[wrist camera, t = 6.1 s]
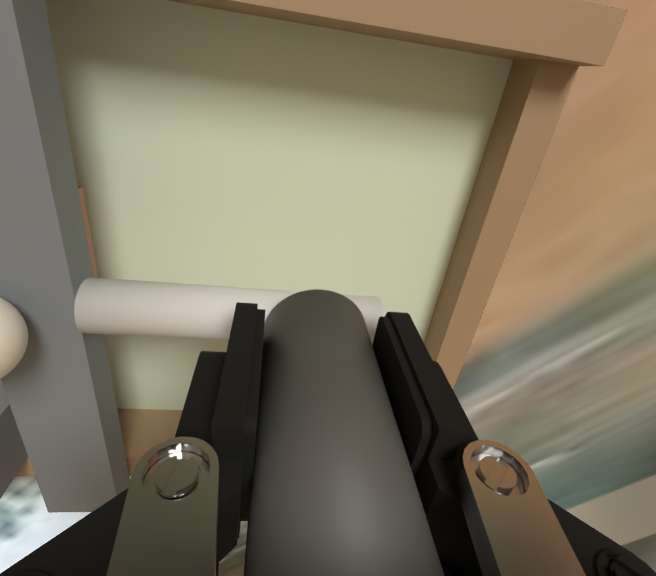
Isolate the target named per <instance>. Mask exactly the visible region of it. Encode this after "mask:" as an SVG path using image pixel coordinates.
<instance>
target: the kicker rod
mask: <svg viewBox="0 0 656 576" xmlns="http://www.w3.org/2000/svg"><path fill="white" fill-rule="evenodd" d="M237 302H240V303H256V304H258V309H265V325H264V341H263V354H262V367H261V380H260V393H259V406H258V419H257V432H256V445H255V458H254V470H253V475H252V481H251V492H250V504H249V517H248V529H247V542H246V554H245V566H244V576H444V573H443V569H442V566H441V563H440V560H439V557H438V553H437V550H436V547H435V544H434V541H433V537H432V534H431V531H430V528H429V525H428V521H427V518H426V515H425V512H424V509H423V505H422V502H421V499H420V496H419V493H418V490H417V486H416V483H415V480H414V477H413V474H412V470H411V467H410V464H409V461H408V458H407V454H406V451H405V448H404V445H403V442H402V438H401V435H400V432H399V429H398V426H397V422H396V419H395V416H394V413H393V410H392V406H391V403H390V400H389V397H388V394H387V390H386V387H385V384H384V381H383V378H382V374H381V371H380V368H379V365H378V362H377V358H376V355H375V352H374V349H373V346H372V345H373V340H374V336H375V332H376V328H377V324H378V320H379V318H380V317H381V316H383V309H382V303H381V300H380V299H379V297H371V296H356V295H342V294H339V293H336V292H333V291H329V290H322V289H313V290H306V291H301V292H298V291H283V290H269V289H254V288H239V287H225V286H210V285H195V284H181V283H166V282H151V281H137V280H122V279H107V278H98V273H97V267H96V261H95V256H94V250H93V244H92V238H91V232H90V226H89V221H88V215H87V209H86V203H85V197H84V191H83V187H82V186H78V185H77V180H76V174H75V168H74V163H73V157H72V151H71V146H70V140H69V134H68V129H67V123H66V118H65V112H64V106H63V101H62V95H61V89H60V84H59V78H58V73H57V67H56V61H55V56H54V50H53V44H52V39H51V33H50V28H49V22H48V16H47V11H46V5H45V0H0V380H1V382H2V385H3V388H4V391H5V394H6V396H7V399H8V402H9V405H10V407H11V410H12V413H13V416H14V418H15V421H16V424H17V427H18V429H19V432H20V435H21V438H22V441H23V443H24V446H25V449H26V452H27V454H28V457H29V460H30V463H31V465H32V468H33V471H34V474H35V477H36V479H37V482H38V485H39V488H40V490H41V493H42V496H43V499H44V501H45V504H46V507H47V510H48V512H93V511H94V510H96V509H97V508H99V507H100V506H102V505H103V504H105V503H106V502H108V501H109V500H111V499H112V498H114V497H115V496H117V495H118V494H120V493H121V492H123V491H124V490H126V489H127V488H128V487H129V484H130V478H129V472H128V467H127V461H126V455H125V450H124V444H123V438H122V433H121V427H120V422H119V416H118V410H117V405H116V399H115V393H114V388H113V382H112V377H111V371H110V365H109V360H108V354H107V348H106V343H105V337H104V334H109V335H130V336H151V337H172V338H192V339H213V340H229V337H230V332H231V327H232V322H233V317H234V312H235V307H236V303H237Z"/></svg>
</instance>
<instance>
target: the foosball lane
mask: <svg viewBox="0 0 656 576" xmlns="http://www.w3.org/2000/svg"><path fill="white" fill-rule="evenodd" d="M45 5H46V11H47V16H48V22H49V28H50V33H51V39H52V44H53V50H54V56H55V61H56V67H57V73H58V78H59V84H60V89H61V95H62V101H63V106H64V112H65V118H66V123H67V129H68V134H69V140H70V146H71V151H72V157H73V163H74V168H75V174H76V180H77V185H78V186H82V187H83V191H84V197H85V203H86V209H87V215H88V221H89V226H90V232H91V238H92V244H93V250H94V256H95V261H96V267H97V273H98V278H107V279H122V280H137V281H151V282H166V283H181V284H195V285H210V286H225V287H239V288H254V289H269V290H283V291H298V292H301V291H306V290H313V289H322V290H329V291H333V292H336V293H339V294H342V295H356V296H371V297H379V299H380V300H381V303H382V309H383V317H385V315H386V313H387V312H403V313H409V315H410V316H411V318H412V320H413V322H414V324H415V326H416V328H417V330H418V332H419V334H420V336H421V338H422V340H423V342H424V344H425V346H426V348H427V350H428V352H429V354H430V356H431V358H432V360H433V361H436V362H438V363H439V365H440V366H441V368H442V370H443V372H444V374H445V376H446V378H447V380H448V381H449V383H450V385H451V387H452V389H453V388H454V385H455V383H456V380H457V378H458V375H459V373H460V370H461V367H462V365H463V362H464V360H465V357H466V355H467V352H468V349H469V347H470V344H471V342H472V339H473V337H474V334H475V332H476V329H477V326H478V324H479V321H480V319H481V316H482V314H483V311H484V308H485V306H486V303H487V301H488V298H489V296H490V293H491V291H492V288H493V285H494V283H495V280H496V278H497V275H498V273H499V270H500V267H501V265H502V262H503V260H504V257H505V255H506V252H507V249H508V247H509V244H510V242H511V239H512V237H513V234H514V232H515V229H516V226H517V224H518V221H519V219H520V216H521V214H522V211H523V208H524V206H525V203H526V201H527V198H528V196H529V193H530V191H531V188H532V185H533V183H534V180H535V178H536V175H537V173H538V170H539V167H540V165H541V162H542V160H543V157H544V155H545V152H546V150H547V147H548V144H549V142H550V139H551V137H552V134H553V132H554V129H555V126H556V124H557V121H558V119H559V116H560V114H561V111H562V108H563V106H564V103H565V101H566V98H567V96H568V93H569V91H570V88H571V85H572V83H573V80H574V78H575V75H576V73H577V70H578V67H579V66H604V65H605V63H606V60H607V58H608V56H609V53H610V51H611V48H612V46H613V44H614V41H615V39H616V36H617V34H618V32H619V29H620V27H621V25H622V22H623V20H624V17H625V15H626V13H627V10H623V9H618V8H613V7H608V6H603V5H598V4H594V3H589V2H584V1H579V0H45ZM104 337H105V343H106V348H107V354H108V360H109V365H110V371H111V377H112V382H113V388H114V393H115V399H116V405H117V410H118V416H119V422H120V427H121V433H122V438H123V444H124V450H125V455H126V461H127V467H128V472H129V476H132V473H133V471H134V468H135V466H136V464H137V462H138V461H139V460H140V458H141V457H142V456H143V455H144V454H145V452H147V451H148V450H149V449H151V448H152V447H153V446H155V445H156V444H158V443H160V442H163V441H165V440H167V439H171V438H175V434H176V431H177V428H178V424H179V421H180V418H181V414H182V411H183V407H184V404H185V401H186V397H187V394H188V391H189V387H190V384H191V380H192V377H193V374H194V370H195V367H196V364H197V360H198V357H199V354H200V352H201V351H214V352H226V351H227V346H228V342H229V340H213V339H192V338H172V337H151V336H130V335H109V334H104ZM15 476H35V474H34V471H33V468H32V465H31V463H30V460H29V457H28V454H27V452H26V449H25V446H24V443H23V441H22V438H21V435H20V432H19V429H18V427H17V424H16V421H15V418H14V416H13V413H12V410H11V407H10V405H9V402H8V399H7V396H6V394H5V391H4V388H3V385H2V382H1V380H0V498H1V497H2V495H3V494H4V492H5V491H6V489H7V488H8V486H9V485H10V483H11V482H12V480H13V479H14V477H15Z"/></svg>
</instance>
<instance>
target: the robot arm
mask: <svg viewBox="0 0 656 576" xmlns="http://www.w3.org/2000/svg"><path fill="white" fill-rule="evenodd" d="M264 325H265V309H258V304H256V303H240V302H237V303H236V307H235V312H234V317H233V322H232V327H231V332H230V337H229V342H228V346H227V351H226V352H214V351H201V352H200V354H199V357H198V360H197V364H196V367H195V370H194V374H193V377H192V380H191V384H190V387H189V391H188V394H187V397H186V401H185V404H184V407H183V411H182V414H181V418H180V421H179V424H178V428H177V431H176V434H175V438H171V439H167V440H165V441H163V442H160V443H158V444H156V445H155V446H153V447H152V448H151V449H149V450H148V451H147V452H145V454H144V455H143V456H142V457H141V458H140V460H139V461H138V462H137V464H136V466H135V468H134V471H133V473H132V476H131V480H130V484H129V488H127V489H126V490H124V491H123V492H121V493H120V494H118V495H117V496H115V497H114V498H112V499H111V500H109V501H108V502H106V503H105V504H103V505H102V506H100V507H99V508H97V509H96V510H94V511H93V512H91V513H90V514H88V515H87V516H85V517H84V518H83V519H81V520H80V521H78V522H77V523H75V524H74V525H72V526H71V527H69V528H68V529H66V530H65V531H63V532H62V533H60V534H59V535H57V536H56V537H54V538H53V539H51V540H50V541H48V542H47V543H45V544H44V545H42V546H41V547H39V548H38V549H36V550H35V551H33V552H32V553H30V554H29V555H27V556H26V557H24V558H23V559H21V560H20V561H18V562H17V563H15V564H14V565H13V566H11V567H10V568H8V569H7V570H5V571H4V572H2V573H1V574H0V576H219V562H220V561H221V560H222V559H223V558H224V557H225V556H226V555H227V554H228V553H229V552H230V551H231V550H232V549H233V548H234V547H235V546H236V545H237V539H238V537H239V532H240V522H241V521H248V517H249V504H250V492H251V481H252V475H253V470H254V458H255V445H256V432H257V419H258V406H259V393H260V380H261V367H262V354H263V341H264ZM372 346H373V349H374V352H375V355H376V358H377V362H378V365H379V368H380V371H381V374H382V378H383V381H384V384H385V387H386V390H387V394H388V397H389V400H390V403H391V406H392V410H393V413H394V416H395V419H396V422H397V426H398V429H399V432H400V435H401V438H402V442H403V445H404V448H405V451H406V454H407V458H408V461H409V464H410V467H411V470H412V474H413V477H414V480H415V483H416V486H417V490H418V493H419V496H420V499H421V502H422V505H423V509H424V512H425V515H426V518H427V521H428V525H429V528H430V531H431V534H432V537H433V541H434V544H435V547H436V550H437V553H438V557H439V560H440V563H441V566H442V569H443V573H444V576H656V573H655V572H654V571H653V570H652V569H651V568H650V567H649V566H648V565H647V564H646V563H645V562H643V561H642V560H641V559H639V558H638V557H637V556H636V555H634V554H633V553H631V552H630V551H628V550H627V549H625V548H623V547H622V546H620V545H619V544H617V543H616V542H614V541H612V540H611V539H609V538H608V537H606V536H605V535H603V534H602V533H600V532H598V531H597V530H595V529H594V528H592V527H591V526H589V525H588V524H586V523H584V522H583V521H581V520H580V519H578V518H577V517H575V516H573V515H572V514H570V513H569V512H567V511H566V510H564V509H563V508H561V507H559V506H558V505H556V504H555V503H553V502H552V501H550V500H549V499H547V498H546V496H545V494H544V492H543V490H542V488H541V486H540V484H539V482H538V480H537V478H536V476H535V474H534V472H533V471H532V469H531V468H530V466H529V465H528V463H527V462H526V461H525V460H524V459H523V458H522V457H521V456H520V455H519V454H517V453H516V452H515V451H513V450H512V449H510V448H509V447H507V446H505V445H502V444H500V443H498V442H494V441H490V440H478V438H477V436H476V434H475V432H474V430H473V428H472V426H471V424H470V422H469V420H468V418H467V416H466V414H465V412H464V410H463V409H462V407H461V405H460V403H459V401H458V399H457V397H456V395H455V393H454V391H453V389H452V387H451V385H450V383H449V381H448V380H447V378H446V376H445V374H444V372H443V370H442V368H441V366H440V365H439V363H438V362H436V361H433V360H432V358H431V356H430V354H429V352H428V350H427V348H426V346H425V344H424V342H423V340H422V338H421V336H420V334H419V332H418V330H417V328H416V326H415V324H414V322H413V320H412V318H411V316H410V315H409V313H403V312H387V313H386V315H385V317H383V316H381V317H380V318H379V320H378V324H377V328H376V332H375V336H374V340H373V345H372Z"/></svg>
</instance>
